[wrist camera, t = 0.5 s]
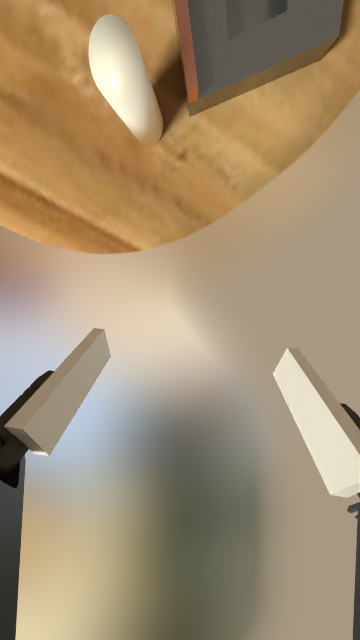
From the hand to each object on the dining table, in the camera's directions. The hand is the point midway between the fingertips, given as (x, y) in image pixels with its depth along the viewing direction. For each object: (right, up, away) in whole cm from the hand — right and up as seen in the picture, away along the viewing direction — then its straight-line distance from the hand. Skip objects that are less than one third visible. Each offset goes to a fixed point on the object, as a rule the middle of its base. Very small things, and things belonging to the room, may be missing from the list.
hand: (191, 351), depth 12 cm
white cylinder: (-5, +31, +11) cm, 33 cm away
